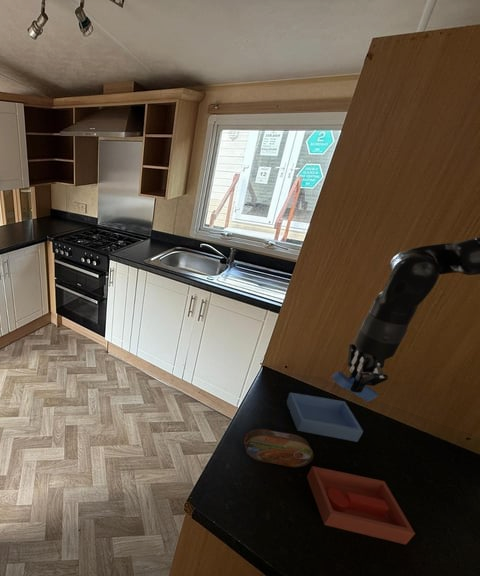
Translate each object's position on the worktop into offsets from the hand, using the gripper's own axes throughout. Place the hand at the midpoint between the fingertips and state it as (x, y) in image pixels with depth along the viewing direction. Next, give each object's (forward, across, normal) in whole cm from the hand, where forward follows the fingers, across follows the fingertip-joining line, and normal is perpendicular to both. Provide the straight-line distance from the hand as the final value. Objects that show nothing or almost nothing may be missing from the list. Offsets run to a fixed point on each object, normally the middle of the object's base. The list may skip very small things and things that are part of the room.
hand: (353, 388), depth 81 cm
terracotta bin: (+15, -23, +5) cm, 28 cm away
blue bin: (+15, +1, +3) cm, 15 cm away
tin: (+15, -15, +19) cm, 28 cm away
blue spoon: (+1, 0, +1) cm, 1 cm away
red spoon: (+14, -23, +5) cm, 27 cm away
